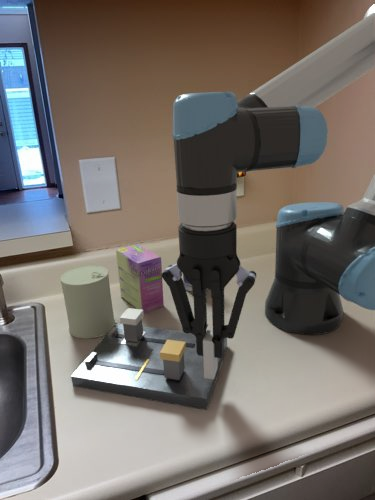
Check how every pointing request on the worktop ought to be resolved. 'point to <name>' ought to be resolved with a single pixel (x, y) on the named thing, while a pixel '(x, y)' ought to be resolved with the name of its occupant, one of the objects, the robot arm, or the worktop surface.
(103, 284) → the can
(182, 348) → the fader
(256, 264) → the worktop surface
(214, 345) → the robot arm
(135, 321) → the fader
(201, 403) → the console
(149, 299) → the box
